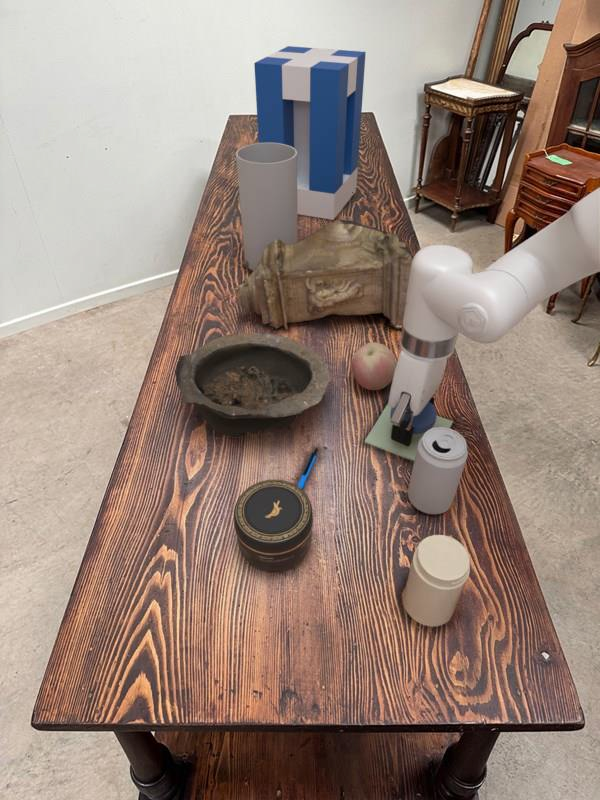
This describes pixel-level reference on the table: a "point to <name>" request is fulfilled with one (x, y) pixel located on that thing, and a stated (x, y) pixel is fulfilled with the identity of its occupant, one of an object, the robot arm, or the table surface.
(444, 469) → the beverage can
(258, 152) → the cylinder vase
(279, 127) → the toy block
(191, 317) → the table surface
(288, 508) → the jar
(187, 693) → the table surface
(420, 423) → the jar lid
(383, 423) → the coaster
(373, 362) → the apple
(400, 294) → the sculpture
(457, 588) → the jam jar
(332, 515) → the table surface
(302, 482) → the pen
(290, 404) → the stone bowl
